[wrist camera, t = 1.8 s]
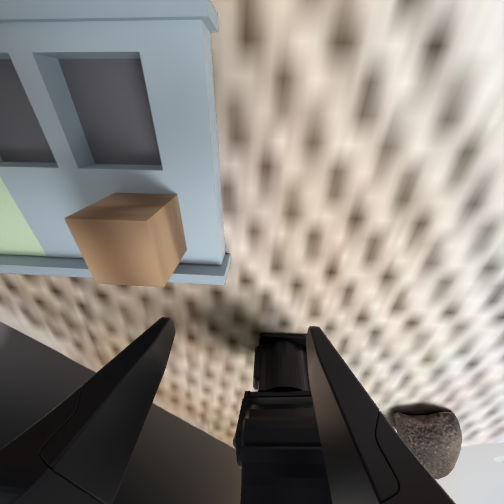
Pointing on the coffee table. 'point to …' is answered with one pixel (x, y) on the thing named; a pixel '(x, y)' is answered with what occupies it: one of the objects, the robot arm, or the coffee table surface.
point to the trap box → (106, 125)
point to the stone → (432, 440)
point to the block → (130, 238)
